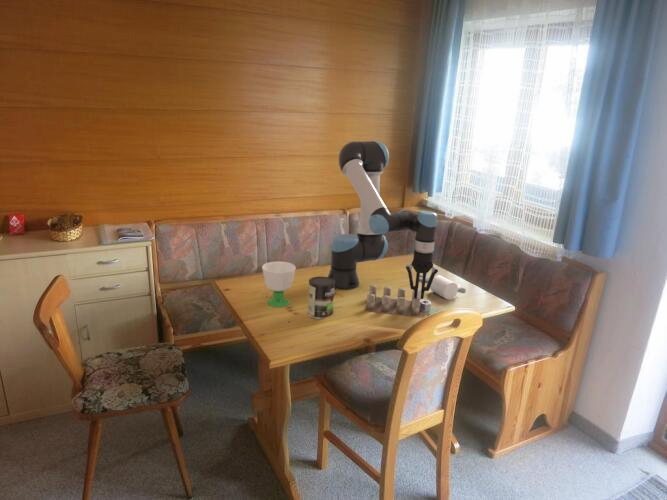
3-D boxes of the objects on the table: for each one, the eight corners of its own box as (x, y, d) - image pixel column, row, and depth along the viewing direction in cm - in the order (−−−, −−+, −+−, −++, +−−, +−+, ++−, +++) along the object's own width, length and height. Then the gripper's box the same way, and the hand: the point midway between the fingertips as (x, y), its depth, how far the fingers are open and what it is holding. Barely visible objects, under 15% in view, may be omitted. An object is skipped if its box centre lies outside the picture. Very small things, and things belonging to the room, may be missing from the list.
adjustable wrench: (466, 292, 224) (467, 288, 223) (459, 295, 220) (460, 292, 219) (421, 276, 240) (422, 273, 240) (414, 279, 236) (414, 276, 235)
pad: (420, 315, 196) (421, 313, 196) (420, 308, 203) (420, 306, 202) (440, 317, 195) (441, 315, 195) (440, 310, 202) (440, 308, 201)
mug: (442, 301, 212) (445, 283, 209) (428, 292, 220) (430, 276, 218) (463, 297, 217) (466, 280, 215) (449, 289, 225) (451, 273, 223)
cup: (281, 293, 210) (281, 259, 205) (301, 303, 201) (302, 268, 196) (254, 301, 201) (255, 265, 196) (275, 312, 192) (275, 275, 187)
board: (364, 313, 195) (365, 297, 193) (368, 298, 210) (369, 283, 208) (419, 319, 192) (421, 303, 190) (419, 303, 207) (421, 288, 205)
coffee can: (338, 313, 194) (340, 280, 190) (324, 322, 186) (326, 287, 182) (317, 306, 199) (318, 274, 195) (302, 314, 191) (303, 281, 187)
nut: (419, 311, 197) (420, 303, 196) (419, 306, 202) (420, 298, 201) (430, 313, 196) (431, 305, 195) (429, 308, 201) (430, 300, 200)
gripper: (407, 251, 189) (401, 307, 196) (441, 255, 187) (434, 310, 194) (407, 246, 196) (402, 300, 203) (440, 249, 194) (433, 303, 201)
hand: (417, 305), depth 199 cm, fingers closed
